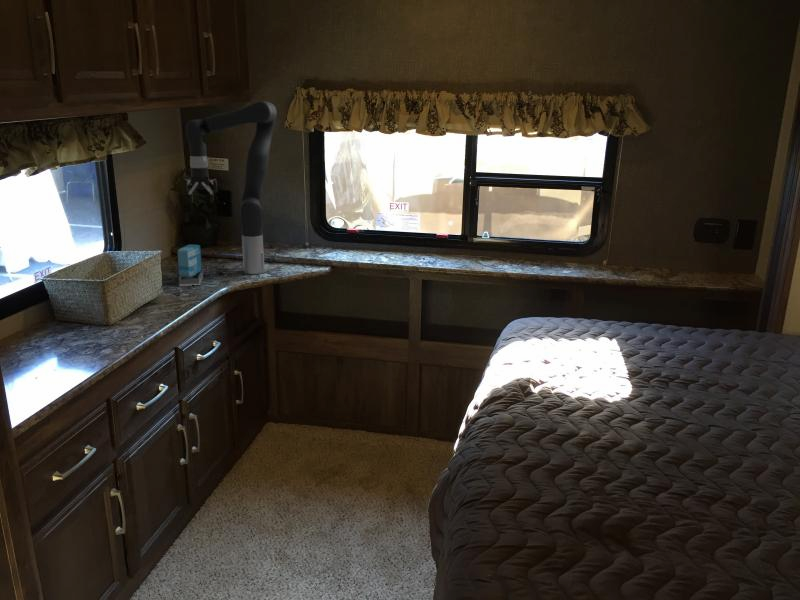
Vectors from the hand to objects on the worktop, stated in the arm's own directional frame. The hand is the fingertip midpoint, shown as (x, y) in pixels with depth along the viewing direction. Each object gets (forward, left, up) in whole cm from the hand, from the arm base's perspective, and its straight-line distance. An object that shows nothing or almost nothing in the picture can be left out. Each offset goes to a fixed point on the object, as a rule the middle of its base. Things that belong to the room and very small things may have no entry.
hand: (201, 202), depth 306 cm
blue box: (+4, +22, -27) cm, 35 cm away
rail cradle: (+4, +22, -30) cm, 37 cm away
